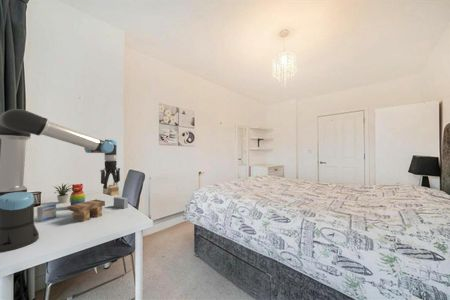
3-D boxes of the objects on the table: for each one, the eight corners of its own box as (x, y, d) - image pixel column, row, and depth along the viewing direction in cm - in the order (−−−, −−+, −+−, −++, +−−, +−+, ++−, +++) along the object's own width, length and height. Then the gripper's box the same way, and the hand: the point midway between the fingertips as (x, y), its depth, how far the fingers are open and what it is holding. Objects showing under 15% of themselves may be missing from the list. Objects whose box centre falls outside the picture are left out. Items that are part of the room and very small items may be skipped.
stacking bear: (66, 210, 137) (66, 185, 137) (71, 206, 146) (71, 183, 146) (84, 208, 141) (84, 184, 141) (87, 204, 150) (87, 182, 150)
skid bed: (84, 221, 116) (84, 211, 116) (73, 218, 121) (73, 209, 121) (102, 215, 126) (102, 206, 126) (91, 213, 131) (91, 204, 131)
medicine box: (42, 221, 116) (42, 207, 115) (37, 221, 116) (36, 207, 116) (56, 217, 123) (56, 203, 123) (51, 216, 124) (51, 203, 124)
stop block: (124, 208, 141) (124, 199, 141) (113, 206, 146) (113, 197, 146) (127, 207, 144) (127, 198, 144) (117, 205, 149) (117, 196, 149)
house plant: (58, 206, 146) (58, 185, 146) (45, 204, 149) (45, 184, 149) (77, 201, 160) (76, 182, 160) (64, 200, 163) (64, 181, 163)
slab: (78, 212, 114) (78, 207, 114) (69, 210, 118) (69, 205, 118) (104, 205, 129) (104, 201, 129) (95, 203, 133) (95, 199, 133)
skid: (118, 194, 136) (118, 186, 136) (111, 195, 132) (111, 187, 132) (110, 192, 143) (110, 184, 143) (103, 193, 139) (103, 185, 139)
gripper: (101, 161, 127) (101, 195, 128) (125, 160, 144) (125, 190, 144) (94, 161, 130) (94, 194, 131) (118, 159, 147) (118, 189, 148)
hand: (110, 192), depth 138 cm, fingers closed on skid, 5 cm apart
